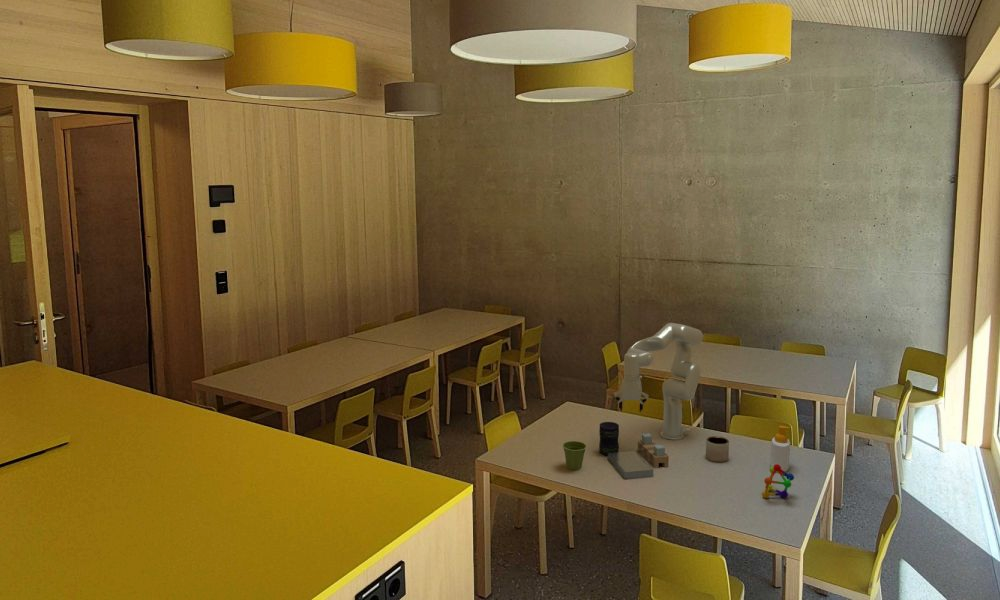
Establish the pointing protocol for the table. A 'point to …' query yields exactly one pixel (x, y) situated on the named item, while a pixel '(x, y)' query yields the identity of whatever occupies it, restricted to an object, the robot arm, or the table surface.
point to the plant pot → (574, 454)
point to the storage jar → (608, 438)
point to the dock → (630, 465)
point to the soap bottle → (780, 449)
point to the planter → (717, 449)
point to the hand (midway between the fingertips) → (630, 410)
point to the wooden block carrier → (652, 455)
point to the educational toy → (777, 482)
